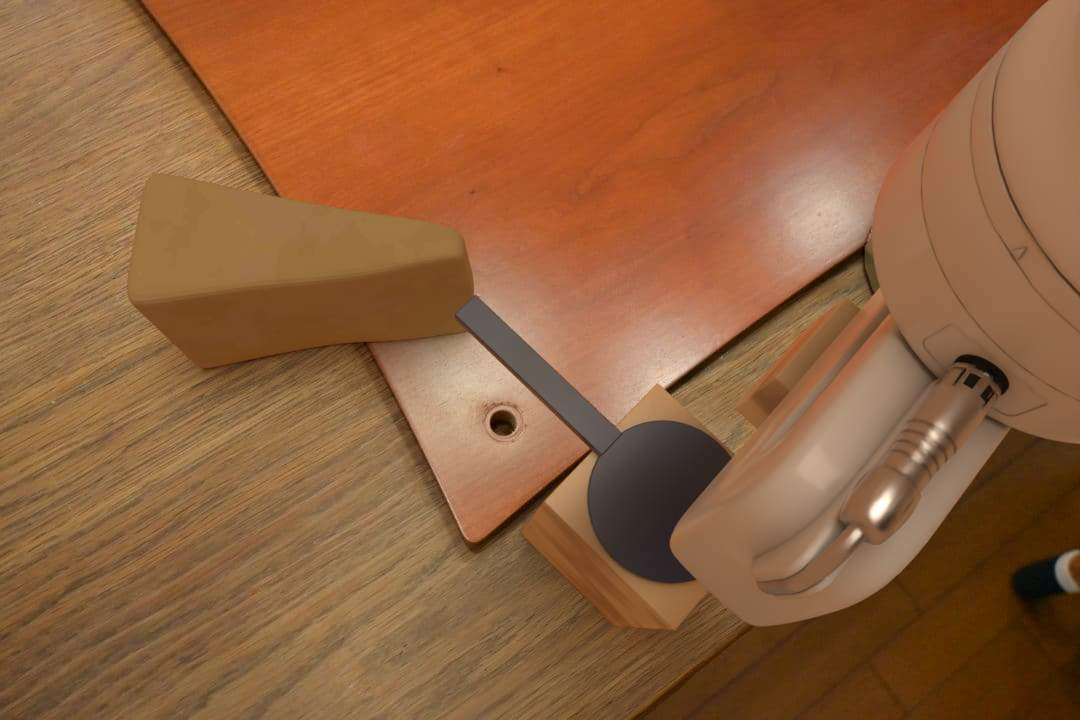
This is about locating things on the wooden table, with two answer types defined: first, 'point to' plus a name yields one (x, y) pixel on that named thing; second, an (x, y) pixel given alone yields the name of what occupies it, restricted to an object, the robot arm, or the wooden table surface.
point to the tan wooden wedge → (287, 272)
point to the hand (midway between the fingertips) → (823, 399)
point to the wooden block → (795, 363)
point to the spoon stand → (614, 488)
